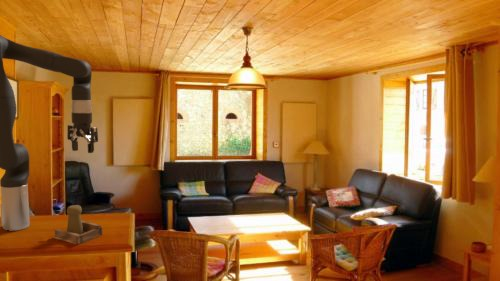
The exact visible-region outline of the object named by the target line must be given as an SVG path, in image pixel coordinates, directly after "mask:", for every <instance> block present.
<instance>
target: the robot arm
mask: <svg viewBox="0 0 500 281" xmlns="http://www.w3.org/2000/svg"><path fill="white" fill-rule="evenodd" d="M3 59H4V60H13V61H18V62H23V63H26V64H28V65H31V66H34V67H37V68H40V69H42V70H43V69H44V70H48V71H50V72H51V71H52V72H55V73H60V74H63V75H66V76H69V77H72V80H73V82H72V86H71V104H70V108H71V110H70V111H71V124H68V125H67V137H66V138H67V140H69V141H70V142H71V149H72V152H77V151H79V141H78V140H79V139H80V138H83V139H84V140H85V141H86V142H87V153H88V154H93V153H94V152H95V143H98V142H99V134H98V127H97V126H93V127H92V126H91V124H92V123H93V108H92V105H93V104H92V93H91V92H92V91H91V84H92V76H93V75H92V66H91V65H90V63H88V62H87V61H86V60H83V59H82V60H81V59H78V58H74V57H68V56H64V55H63V54H60V53H57V52H54V51H49V50H45V49H41V48H35V47H31V46H28V45H27V46H26V45H23V44H21V43H17V42H15V41H13V40H11V39H9V38H6V37H4V36H3V35H1V34H0V169H1V170H3V171H5V172H4V174H3V175H2V177H1V178H0V199H1V201H0V202H1V203H0V220H1V222H0V223H1V227H2V229H3V230H4V231H7V230H9V232H10V231H12V232H14V231H21V230H24V229H27V228H29V227H30V224H31V223H30V206H29V204H30V203H29V187H28V186H29V185H28V184H29V183H28V179H29V177H30V154H29V150H28V149H27V147H26V146H25V145H23V144H22V143H16V142H15V140H14V132H13V130H14V124H15V121H16V116H17V103H16V102H17V101H16V97H15V96H16V95H15V93H14V89H13V87H12V84H11V82H10V79H9V78H8V76H7V74H6V71H5V66H4V61H3Z"/></svg>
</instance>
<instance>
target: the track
mask: <svg viewBox="0 0 500 281" xmlns="http://www.w3.org/2000/svg"><path fill="white" fill-rule="evenodd" d="M81 221H82V226H83V232H84V233H83V234H76V233H72V232H68V231H67V230H63V229H61V228H56V229H54V236H53V239H56V240H60V241H63V242H67V243H71V244H75V245H77V246H79V245H81V244H84V243H87V242H88V241H91V240H93V239H96V238H99V237H100V236H102V235H103V227H102V225H101V224H97V223H94V222H89V221H84V220H81Z"/></svg>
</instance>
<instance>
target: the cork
mask: <svg viewBox="0 0 500 281" xmlns="http://www.w3.org/2000/svg"><path fill="white" fill-rule="evenodd" d="M82 211H83V209H82V207H81V205H79V204H75V205H73V204H72V205H69V206H67V208H66V213H67V215H68V217H67V227H66V231H68V232H72V233H76V234H83V233H84V232H83V226H82V221H83V220H82V215H81V214H82Z"/></svg>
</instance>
